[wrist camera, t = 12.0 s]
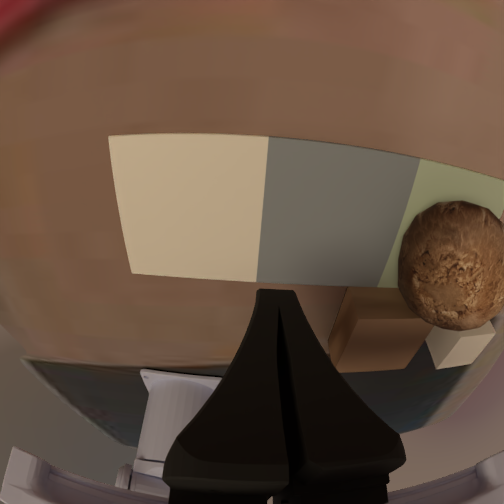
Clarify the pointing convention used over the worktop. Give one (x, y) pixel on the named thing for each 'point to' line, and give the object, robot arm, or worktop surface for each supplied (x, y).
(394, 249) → the board
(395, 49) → the worktop surface
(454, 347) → the beige cube
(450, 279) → the mushroom
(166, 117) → the worktop surface
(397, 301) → the plinth
